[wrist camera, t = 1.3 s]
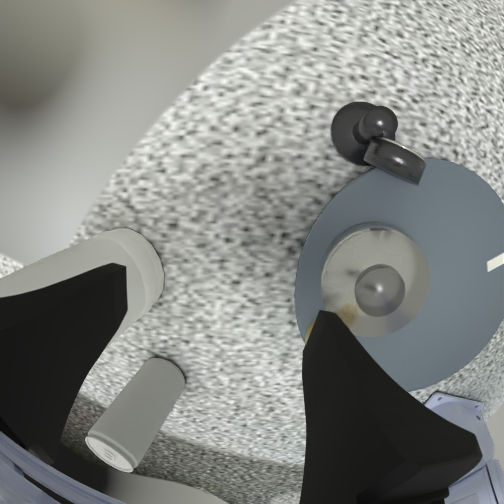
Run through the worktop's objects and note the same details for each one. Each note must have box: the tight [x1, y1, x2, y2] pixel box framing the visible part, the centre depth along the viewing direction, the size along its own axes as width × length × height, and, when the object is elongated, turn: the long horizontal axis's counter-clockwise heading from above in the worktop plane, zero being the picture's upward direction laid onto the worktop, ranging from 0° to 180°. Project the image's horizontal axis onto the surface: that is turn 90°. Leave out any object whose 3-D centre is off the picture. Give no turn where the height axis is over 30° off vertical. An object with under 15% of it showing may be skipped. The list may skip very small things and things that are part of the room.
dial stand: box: [331, 102, 426, 186], centre depth 14 cm, size 5×4×7 cm
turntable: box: [294, 158, 504, 392], centre depth 16 cm, size 18×18×5 cm
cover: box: [321, 221, 430, 337], centre depth 15 cm, size 6×6×3 cm
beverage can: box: [85, 358, 185, 472], centre depth 22 cm, size 5×5×12 cm
